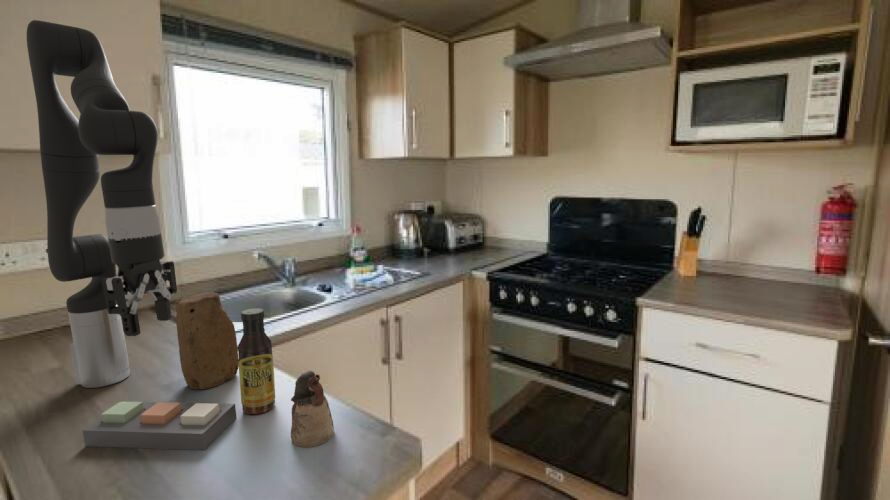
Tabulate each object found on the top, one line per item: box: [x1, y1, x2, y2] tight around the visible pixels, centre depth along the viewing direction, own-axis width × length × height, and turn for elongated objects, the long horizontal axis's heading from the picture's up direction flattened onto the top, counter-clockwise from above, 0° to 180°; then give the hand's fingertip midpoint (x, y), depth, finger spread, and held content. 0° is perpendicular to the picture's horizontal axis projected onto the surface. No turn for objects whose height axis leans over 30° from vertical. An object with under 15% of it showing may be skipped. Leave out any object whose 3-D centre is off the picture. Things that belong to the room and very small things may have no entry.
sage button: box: [100, 401, 144, 423], centre depth 85 cm, size 4×4×2 cm
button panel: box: [82, 400, 237, 451], centre depth 84 cm, size 22×10×3 cm, turn 84°
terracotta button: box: [141, 401, 182, 424], centre depth 84 cm, size 4×4×2 cm
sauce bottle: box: [237, 307, 276, 415], centre depth 90 cm, size 6×6×20 cm
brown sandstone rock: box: [174, 291, 239, 390], centre depth 103 cm, size 11×8×20 cm
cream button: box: [180, 402, 220, 425], centre depth 83 cm, size 4×4×2 cm
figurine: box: [290, 370, 335, 448], centre depth 81 cm, size 7×7×12 cm
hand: (149, 327), depth 81 cm, fingers open, 7 cm apart
